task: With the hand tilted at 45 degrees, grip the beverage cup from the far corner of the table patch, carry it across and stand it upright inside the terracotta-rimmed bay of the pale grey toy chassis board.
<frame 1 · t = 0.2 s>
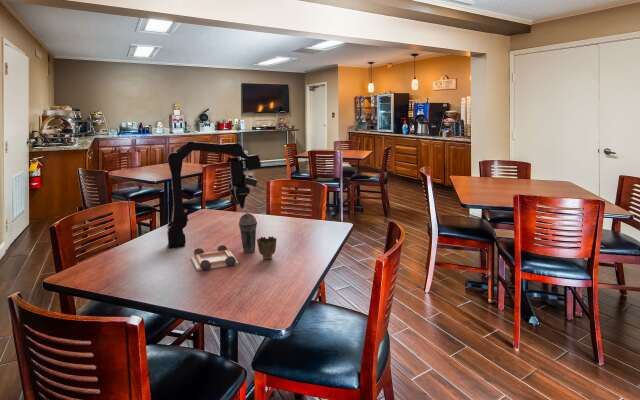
hand: (240, 206, 186), 14 cm above the table, tool pointing down, fingers open, 9 cm apart
cup: (267, 259, 160), on the table
chassis: (214, 261, 158), on the table
beverage cup: (249, 251, 170), on the table
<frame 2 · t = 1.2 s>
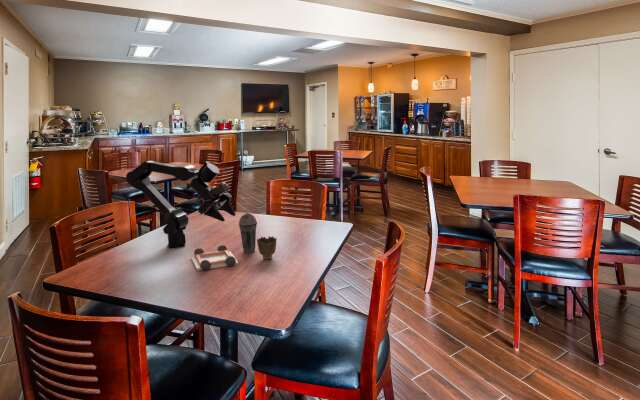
hand: (229, 218, 169), 13 cm above the table, tool tilted 45°, fingers open, 9 cm apart
nothing on the table moved.
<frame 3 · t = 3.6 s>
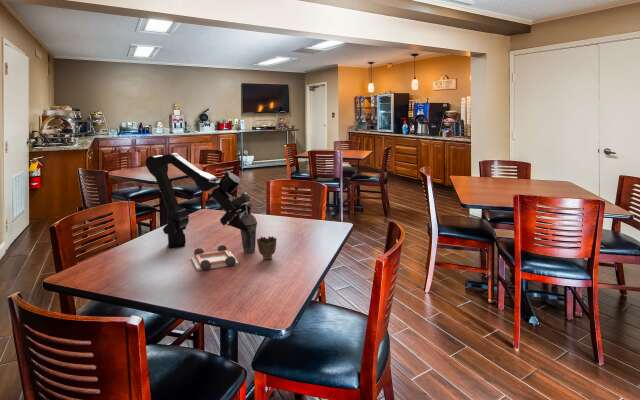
hand: (251, 228, 167), 10 cm above the table, tool tilted 45°, fingers closed on beverage cup, 7 cm apart
beverage cup: (249, 251, 170), on the table, touching gripper
everything else where it was.
when the fingers open (11 cm above the table, at t = 7.0 s): beverage cup stays where it is, resting on chassis.
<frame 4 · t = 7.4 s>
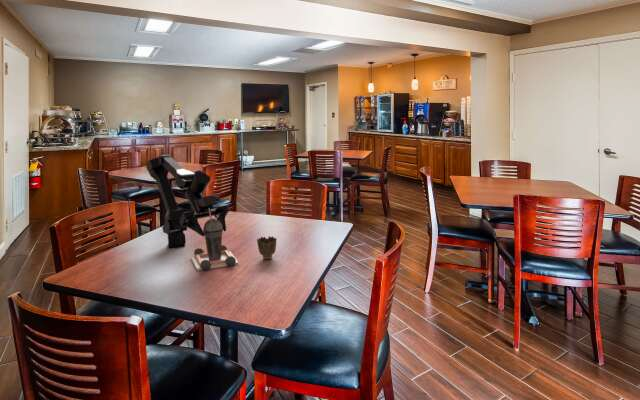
hand: (214, 233, 155), 11 cm above the table, tool tilted 45°, fingers open, 9 cm apart
beverage cup: (214, 259, 158), point 1 cm above the table, touching chassis
everything else where it was.
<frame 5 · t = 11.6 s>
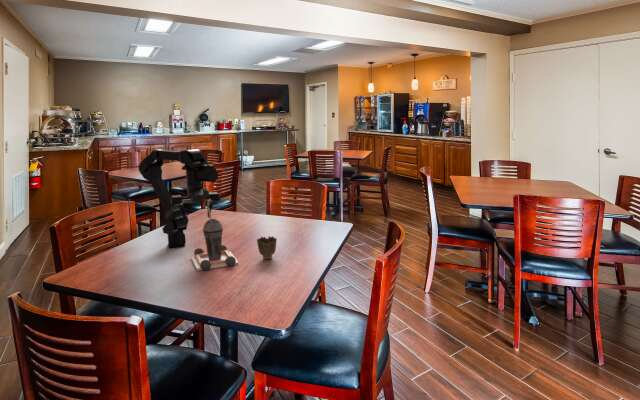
hand: (196, 218, 171), 13 cm above the table, tool pointing down, fingers open, 9 cm apart
nothing on the table moved.
at the end: beverage cup 0.3 cm off-centre on the chassis, point 0.6 cm above the chassis's base; beverage cup tilted 0°; the gripper is holding nothing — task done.
